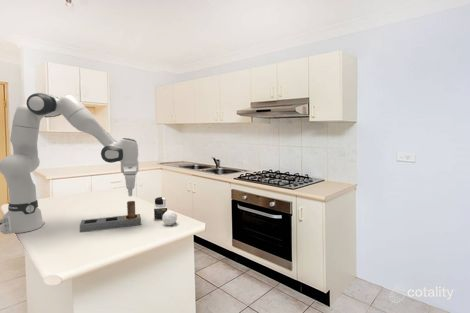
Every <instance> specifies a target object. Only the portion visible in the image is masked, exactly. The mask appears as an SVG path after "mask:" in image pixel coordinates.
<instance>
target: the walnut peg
mask: <svg viewBox="0 0 470 313" xmlns="http://www.w3.org/2000/svg"><path fill="white" fill-rule="evenodd" d="M126 206H127V207H126V208H127V209H126V210H127V215H128V219H130V218H136V217H135V214H136V201H135V200H129V201H127V202H126Z"/></svg>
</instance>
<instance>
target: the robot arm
mask: <svg viewBox="0 0 470 313" xmlns="http://www.w3.org/2000/svg"><path fill="white" fill-rule="evenodd" d="M59 116H63V117H64V118H65V120H67V121H68V123H69V124H70V125H71V126H72V127H73V128H75V129H76V130H77V131H79V132H83V133H85V134H88V135H91V136H92V137H94V138H95V139H97V141H98V142H99V143H100V144H101V145H102V146H103V148H102V149H101V151H100V156H101V159H102V160H103V161H104V162H106V163H108V164H109V163H111V164H113V163H117V162H120V172H121V173H122V174H123V176H124V180H125V187H126V190H127V192H128V197H132V196H133V190H134V189H135V185H136V176H137V174H138V172H139V159H138V157H139V146H138V143H137V141H136V140H135V139H134V138H126V137H124V138H121V139H119V140H118V141H116V140H115V139H114V138H113V137H112V136H111V135H110V134H109V133H108V132H107V130H105V129H104V128H103V127H102V125H100V123H99V122H98V121H97V119H96V118H95V116H94V115H93V114H92V113H91V112H90V111H89V109H88V108H87V107H86V106H85V104H83V103H82V102H81V101H80V100H79V99H78V98H76V97H75V96H74V95H71V94H65V95H63V96H60V97H57V96H54V95H52V94H49V93H48V94H47V93H43V92H37V93H32V94H31V95H29V96H28V97H27V99H26V104H20V105H18V106H17V107H16V110H15V112H14V114H13V119H12V122H11V124H12V125H11V131H10V138H9V139H10V140H9V141H10V142H11V145H12V150H13V151H12V152H13V153H12V154H10V155H7V156H5V157H4V158H3V159H1V160H0V173H1V174H2V176H3V177H4V179H5V182H6V184H7V188H8V198H9V203H8V206H7V207H8V208H7V210H8V211H6V213H5V214H4V215H3V216H2V218H1V219H0V232H1V233H2V234H3V235H10V234H18V233H21V234H22V233H27V232H31V231H36V230H38V229H40V228H41V227H42V226H43V225H45V224H46V221H45V220H44V221H43V216H42V210H41V208H39V202H38V199H37V186H36V184H35V183H34V181H33V179H32V176H31V173H32V172H34V171H36V170H37V169H38V167H39V166H40V165H41V164H40V158H39V151H38V138H39V131H40V126H41V125H40V124H41V121H42V120H43V118H55V117H59Z"/></svg>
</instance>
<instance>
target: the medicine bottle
mask: <svg viewBox="0 0 470 313" xmlns="http://www.w3.org/2000/svg"><path fill="white" fill-rule="evenodd" d="M166 200H167V199H166V197H162V196H159V197H156V198H154V205H153V217H154V218H153V219H154V221H163V220H162V217H163V214H164V213H165V212H167V211H168V204H167V201H166Z"/></svg>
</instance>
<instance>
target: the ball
mask: <svg viewBox="0 0 470 313" xmlns="http://www.w3.org/2000/svg"><path fill="white" fill-rule="evenodd" d="M177 219H178V215H177V213H176V212H175V211H173V210H167V212H165V213H164V214H163V217H162V220H161V221H162V222H163V223H164V224H165V225H166V226H172V225H174V224H176V222H177Z"/></svg>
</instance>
